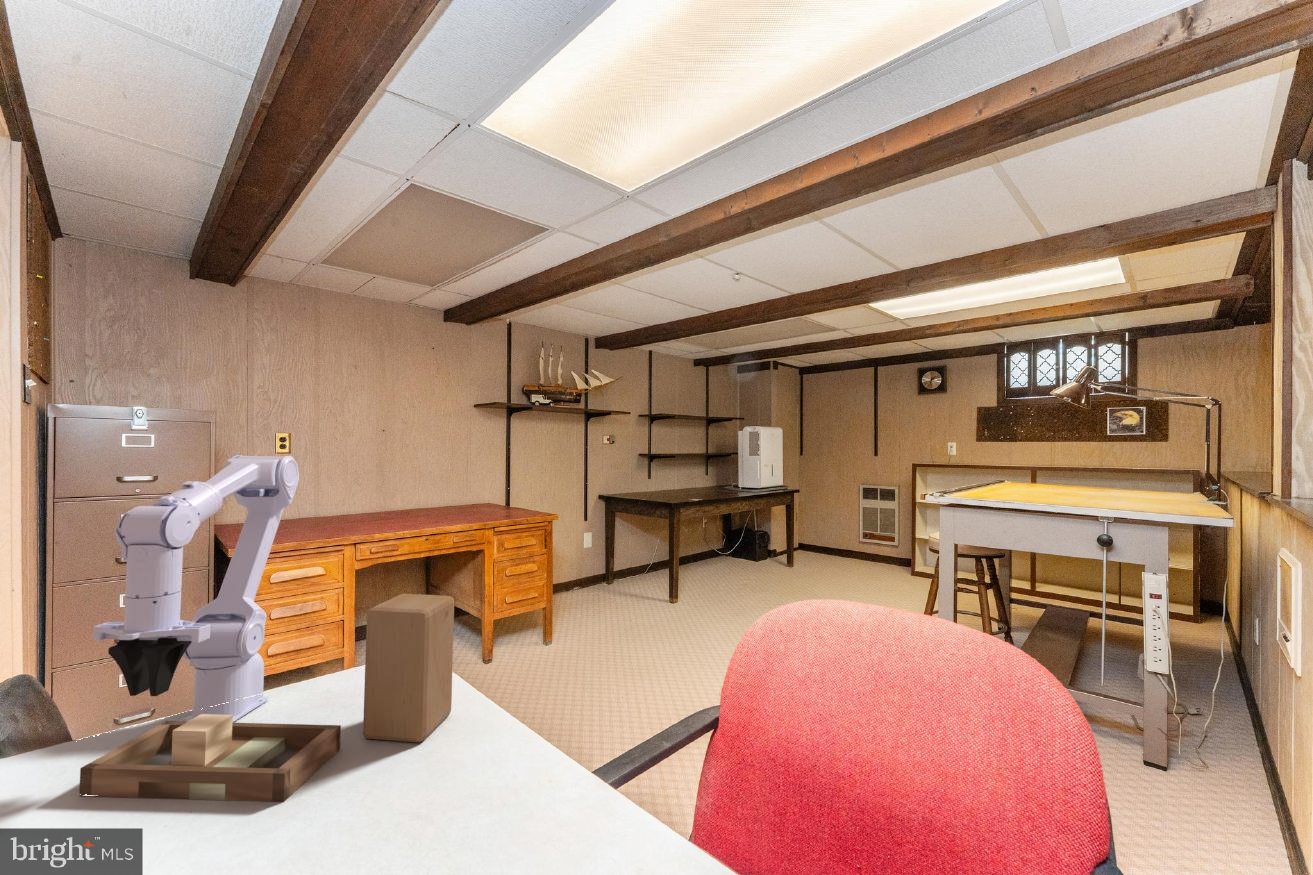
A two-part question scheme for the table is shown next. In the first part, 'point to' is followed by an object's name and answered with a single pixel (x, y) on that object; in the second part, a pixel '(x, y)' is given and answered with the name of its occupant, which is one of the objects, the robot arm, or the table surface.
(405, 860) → the table surface
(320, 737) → the box
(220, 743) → the maple block
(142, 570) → the robot arm
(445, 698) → the wooden block
